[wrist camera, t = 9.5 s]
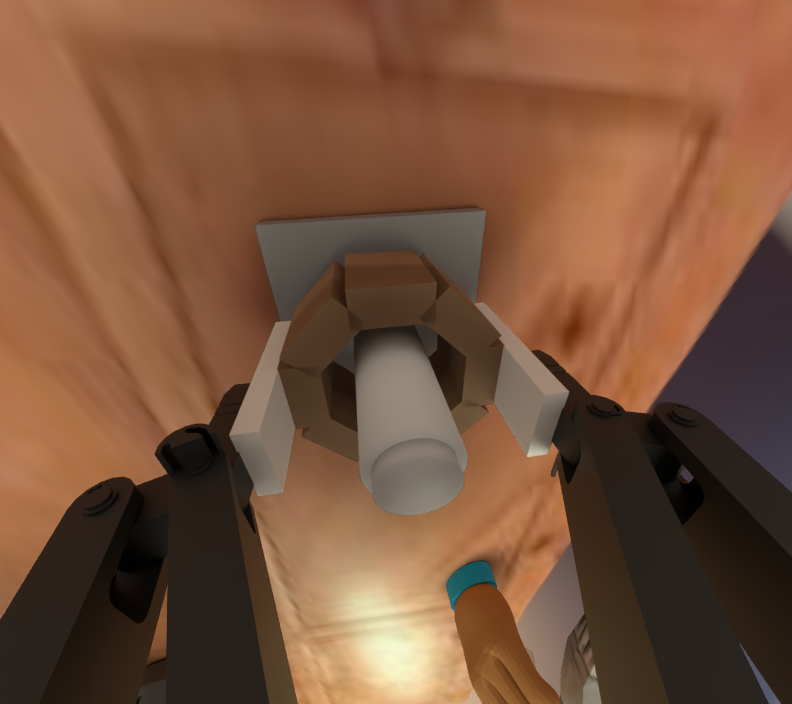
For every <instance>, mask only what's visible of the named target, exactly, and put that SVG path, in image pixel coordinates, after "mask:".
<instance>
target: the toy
mask: <svg viewBox="0 0 792 704" xmlns="http://www.w3.org/2000/svg"><path fill="white" fill-rule="evenodd" d="M525 649H526V648H525ZM526 651H527V653H528V655H529V657H530V659H531V661H532V663H533V665H534V667H535V662H534V657H533V652H532V651H530V650H528V649H526ZM535 668H536V667H535ZM560 684H561V685H560V702H561V704H602V703H601V697H600V692H599V687H598V681H597V676H596V671H595V665H594V660H593V655H592V649H591V644H590V639H589V633H588V628H587V623H586V617H585V614H584V615H583V616H582V618H581V619H580V621H579V622H578V624H577V625H576V627H575V628H574V630H573V631H572V633H571V634H570V635H569V637H568V640H567V644H566V649H565V654H564V659H563V663H562V668H561V683H560Z"/></svg>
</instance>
